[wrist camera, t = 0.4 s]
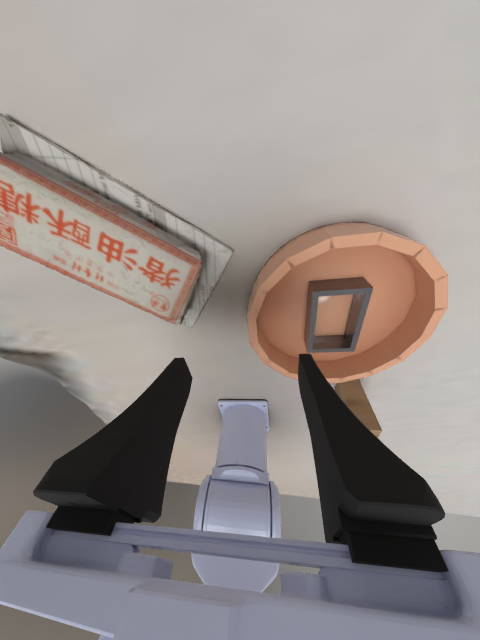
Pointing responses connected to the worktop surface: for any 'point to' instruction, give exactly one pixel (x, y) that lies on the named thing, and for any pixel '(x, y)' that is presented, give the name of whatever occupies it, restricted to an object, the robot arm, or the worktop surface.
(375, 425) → the wood hatch door
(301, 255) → the orange round shallow bowl
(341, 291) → the hinged hatch frame
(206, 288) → the packaged product
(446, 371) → the worktop surface
